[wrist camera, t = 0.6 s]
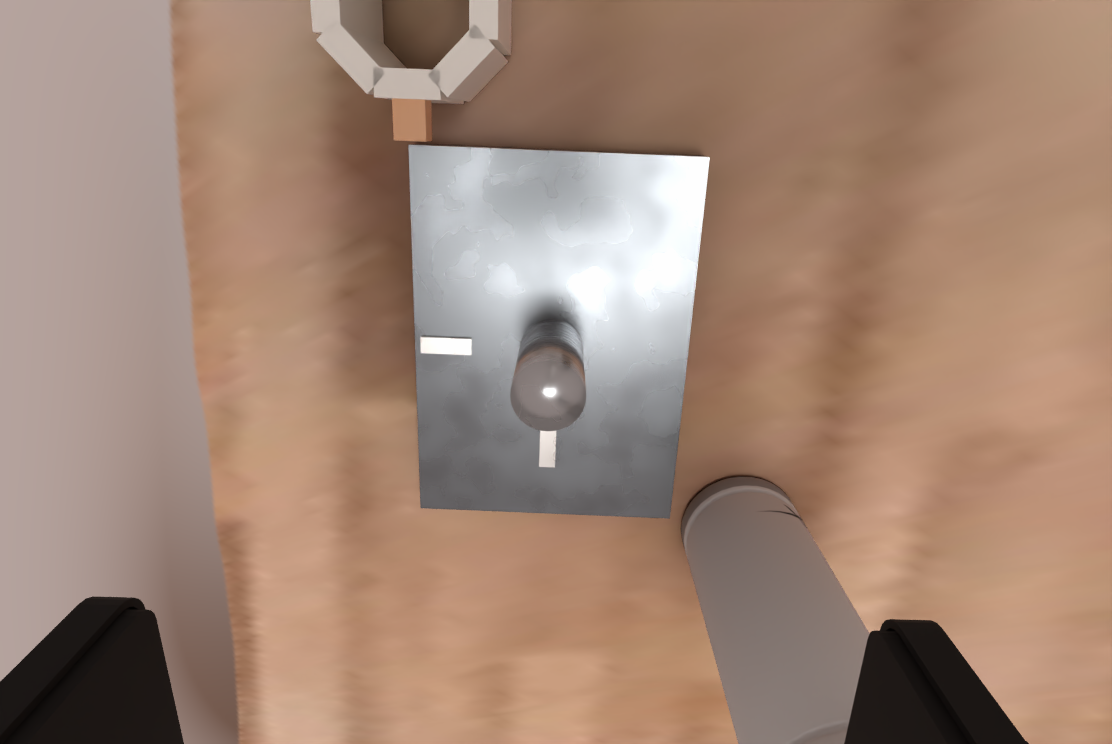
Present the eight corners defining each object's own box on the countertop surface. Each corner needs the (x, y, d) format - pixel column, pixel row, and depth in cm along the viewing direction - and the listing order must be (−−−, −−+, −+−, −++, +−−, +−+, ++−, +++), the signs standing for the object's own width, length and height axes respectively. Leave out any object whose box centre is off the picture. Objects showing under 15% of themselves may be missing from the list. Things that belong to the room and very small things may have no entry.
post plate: (415, 143, 31) (370, 150, 24) (703, 155, 31) (743, 165, 24) (426, 493, 37) (393, 580, 30) (665, 503, 37) (689, 592, 30)
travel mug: (786, 457, 36) (1025, 822, 17) (802, 560, 38) (1030, 983, 19) (669, 482, 37) (776, 861, 18) (691, 582, 39) (808, 1013, 20)
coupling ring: (354, -70, 28) (301, -119, 22) (512, -64, 28) (499, -111, 22) (365, 134, 31) (320, 137, 25) (509, 140, 31) (497, 144, 25)
